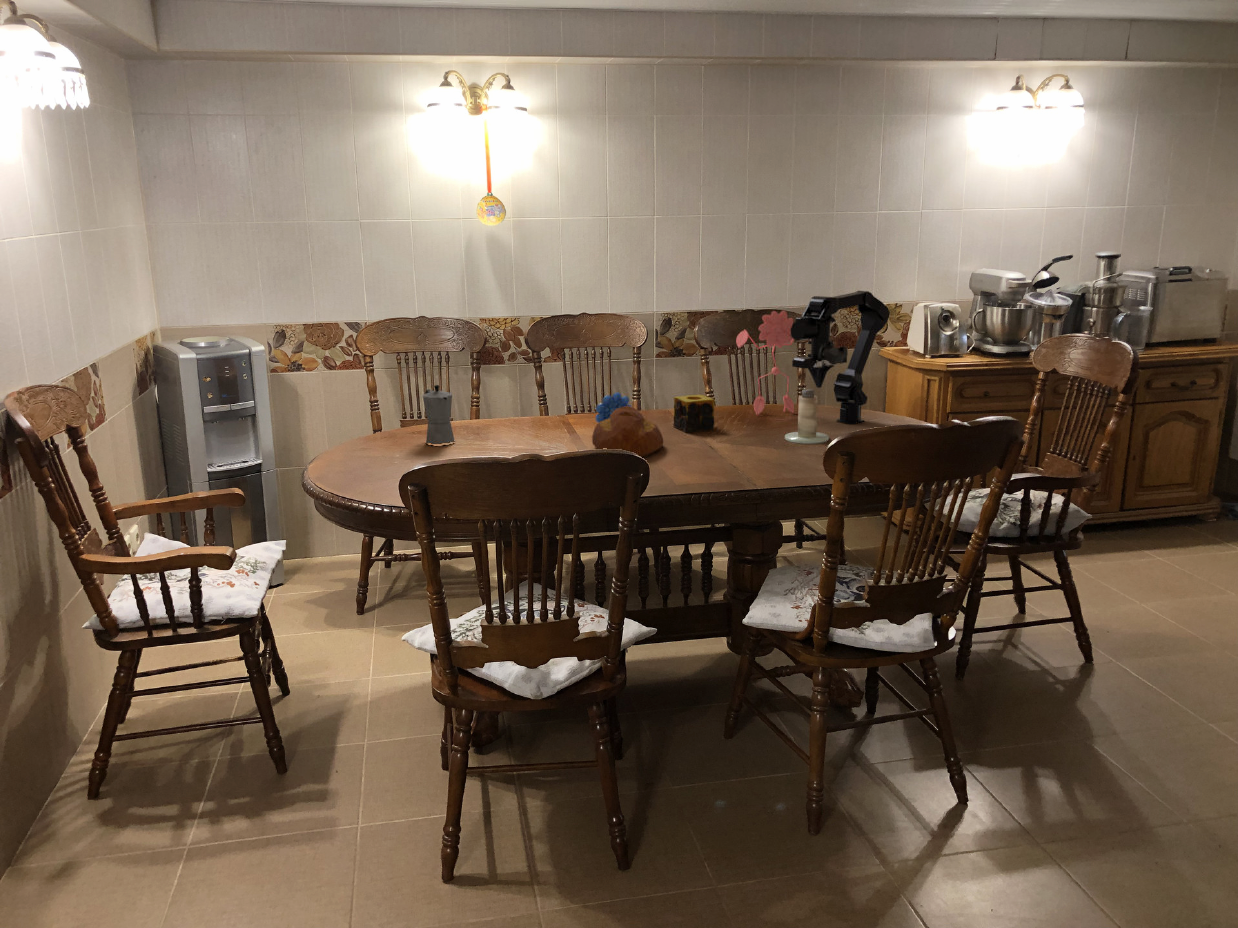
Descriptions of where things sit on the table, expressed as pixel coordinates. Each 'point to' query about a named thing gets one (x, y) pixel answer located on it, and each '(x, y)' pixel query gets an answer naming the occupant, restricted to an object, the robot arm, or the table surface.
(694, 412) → the black and yellow cube
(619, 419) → the bread
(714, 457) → the table surface
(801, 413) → the pepper mill
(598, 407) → the grapes
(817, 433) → the pale green coaster
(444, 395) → the coffeepot
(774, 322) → the figurine
